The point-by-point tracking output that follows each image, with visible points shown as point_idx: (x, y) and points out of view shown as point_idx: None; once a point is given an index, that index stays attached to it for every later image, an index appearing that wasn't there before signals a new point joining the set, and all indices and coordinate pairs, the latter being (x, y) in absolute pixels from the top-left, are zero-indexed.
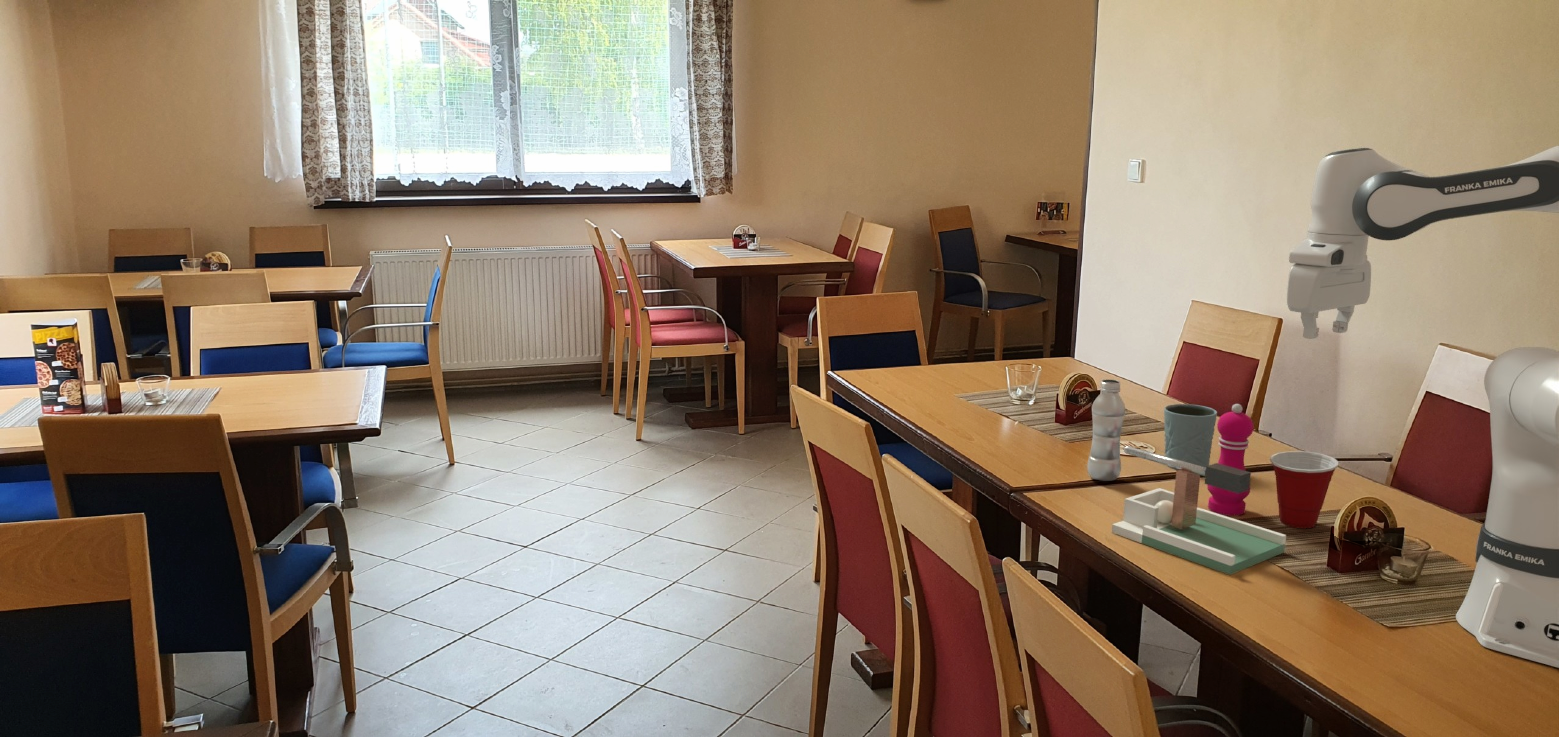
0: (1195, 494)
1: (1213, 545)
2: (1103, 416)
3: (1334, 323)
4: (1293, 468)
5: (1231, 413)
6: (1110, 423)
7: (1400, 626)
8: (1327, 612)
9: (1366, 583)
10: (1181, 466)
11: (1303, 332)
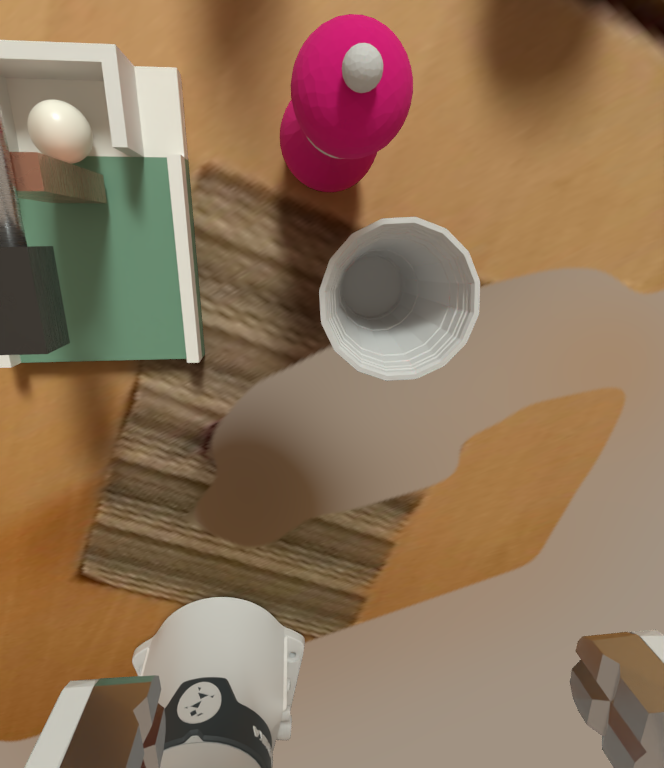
0: (61, 197)
1: (64, 285)
2: None
3: (631, 707)
4: (324, 316)
5: (337, 63)
6: None
7: (98, 580)
8: (43, 514)
9: (199, 490)
10: None
11: (47, 720)
